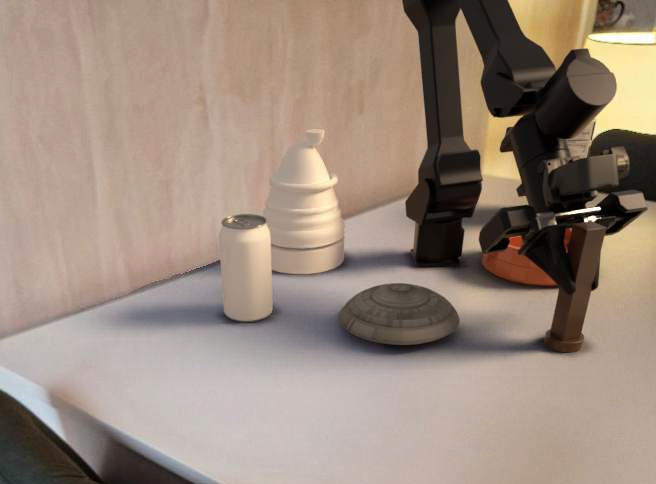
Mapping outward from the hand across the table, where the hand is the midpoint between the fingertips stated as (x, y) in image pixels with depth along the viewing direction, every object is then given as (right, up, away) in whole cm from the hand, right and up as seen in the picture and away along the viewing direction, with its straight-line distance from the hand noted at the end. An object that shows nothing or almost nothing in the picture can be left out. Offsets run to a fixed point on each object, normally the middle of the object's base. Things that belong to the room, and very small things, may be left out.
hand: (583, 291), depth 86 cm
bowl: (+3, +11, +25) cm, 27 cm away
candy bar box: (+12, +25, +43) cm, 51 cm away
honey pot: (-31, +14, +31) cm, 46 cm away
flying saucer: (-19, -2, +10) cm, 22 cm away
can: (-38, +1, +15) cm, 41 cm away
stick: (0, -5, +5) cm, 7 cm away
